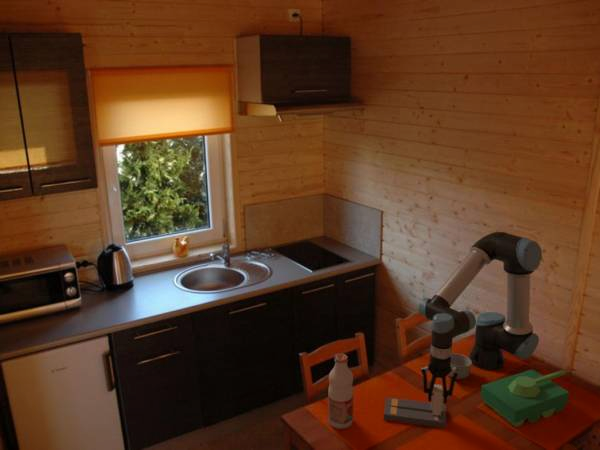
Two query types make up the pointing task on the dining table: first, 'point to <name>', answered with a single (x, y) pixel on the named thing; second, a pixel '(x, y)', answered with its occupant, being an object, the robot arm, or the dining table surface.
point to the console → (413, 412)
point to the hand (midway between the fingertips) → (436, 408)
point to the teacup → (460, 365)
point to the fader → (437, 400)
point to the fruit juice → (340, 394)
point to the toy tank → (525, 396)
